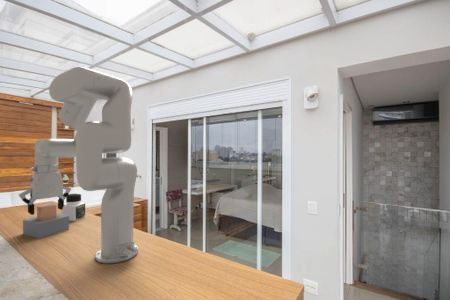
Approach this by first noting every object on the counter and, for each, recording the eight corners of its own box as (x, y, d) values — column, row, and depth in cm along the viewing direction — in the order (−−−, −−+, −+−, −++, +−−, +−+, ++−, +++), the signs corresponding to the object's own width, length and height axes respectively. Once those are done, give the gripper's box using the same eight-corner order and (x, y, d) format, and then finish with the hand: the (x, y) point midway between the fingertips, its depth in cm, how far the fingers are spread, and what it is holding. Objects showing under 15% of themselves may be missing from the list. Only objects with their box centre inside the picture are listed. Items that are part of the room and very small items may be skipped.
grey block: (68, 230, 97) (68, 216, 97) (38, 239, 87) (38, 223, 87) (53, 226, 102) (53, 212, 102) (22, 234, 92) (23, 219, 92)
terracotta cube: (56, 217, 95) (56, 205, 95) (41, 220, 91) (41, 208, 91) (51, 215, 98) (51, 203, 98) (37, 218, 94) (37, 206, 93)
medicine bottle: (76, 221, 108) (76, 195, 108) (61, 221, 108) (61, 195, 108) (85, 216, 115) (85, 192, 115) (71, 216, 115) (71, 192, 115)
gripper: (22, 172, 85) (22, 218, 85) (74, 168, 99) (74, 208, 99) (16, 170, 89) (16, 214, 89) (66, 167, 103) (66, 205, 103)
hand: (46, 211), depth 94 cm, fingers open, 9 cm apart
